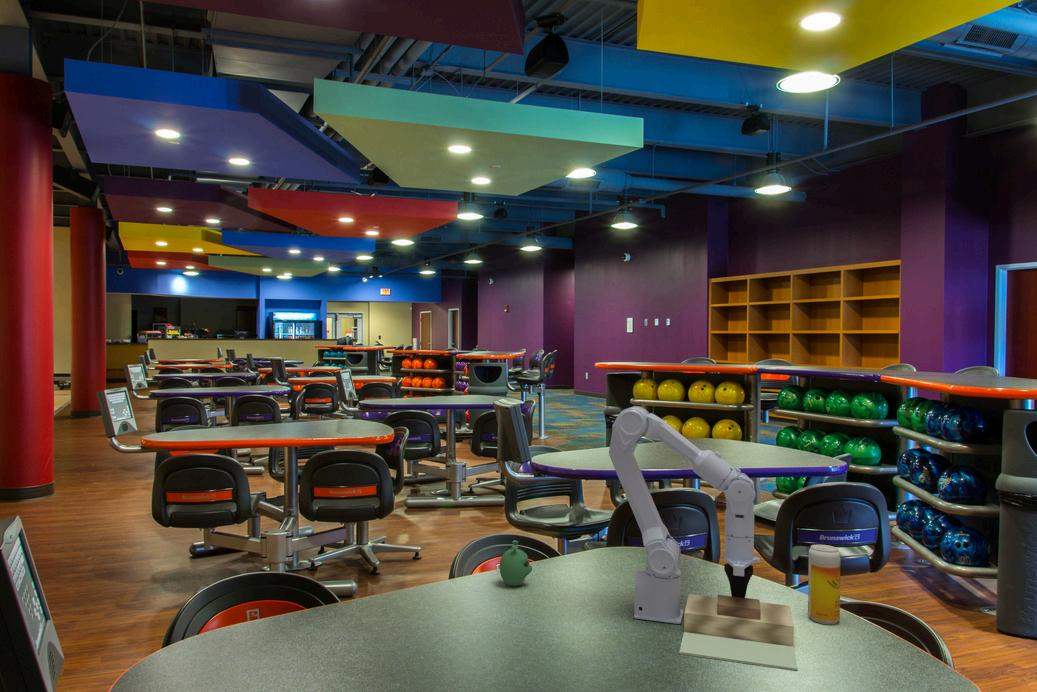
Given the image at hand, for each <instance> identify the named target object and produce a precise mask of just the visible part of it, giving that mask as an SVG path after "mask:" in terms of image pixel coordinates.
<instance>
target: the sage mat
mask: <svg viewBox="0 0 1037 692" xmlns="http://www.w3.org/2000/svg"><path fill="white" fill-rule="evenodd" d="M678 654H679V655H683V656H690V657H698V658H704V659H705V658H706V659H711V660H717V659H718V660H719V661H724V660H726V661H725V662H731V661H732V663H738V662H739V664H747V665H752V664H753V665H754V666H759V665H762V666H761V667H766V666H767V668H773V667H774V668H775V669H780V668H781V669H780V670H788V671H794V672H798V665H797V657H796V653H795V647H794V646H793V647H791V646H784V645H776V644H769V643H761V642H754V641H747V640H739V639H732V638H724V637H717V636H709V635H702V634H695V633H687V632H684V631H683V634H682V640H681V643H680V648H679V652H678ZM718 660H717V661H718ZM753 665H752V666H753Z"/></svg>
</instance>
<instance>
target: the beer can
mask: <svg viewBox="0 0 1037 692" xmlns="http://www.w3.org/2000/svg"><path fill="white" fill-rule="evenodd" d="M807 573H808V576H807V578H808V579H807V580H808V582H807V583H808V585H807V587H808V588H807V596H808V597H807V615H808V617H810V620H812V621H813V622H815V623H817V622H818V624H821V623H822V624H821V625H836V624H837V623H838V621H840V618H841V553H840V551H839V548H838V547H836V546H832V545H828V544H811V545H810V548H809V549H808V572H807Z"/></svg>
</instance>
